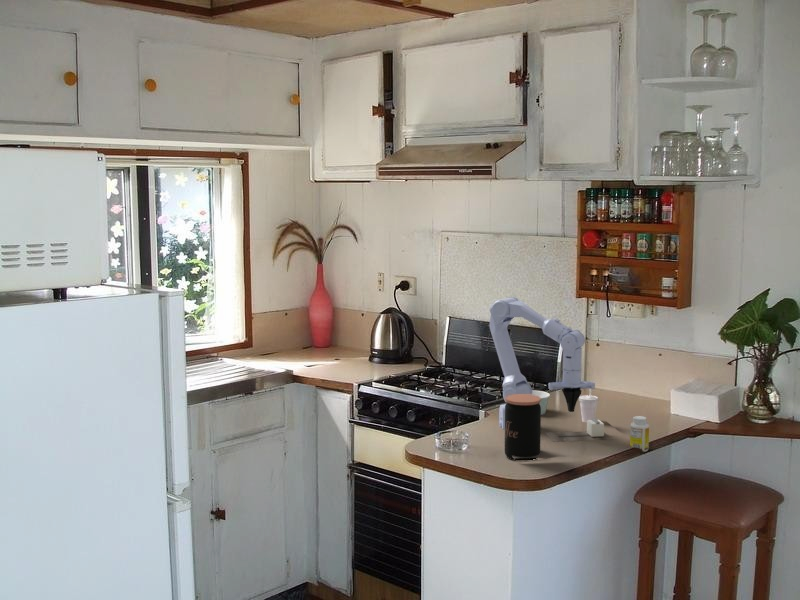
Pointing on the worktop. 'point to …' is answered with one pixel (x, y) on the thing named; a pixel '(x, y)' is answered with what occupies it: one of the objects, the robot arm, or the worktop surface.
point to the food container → (542, 399)
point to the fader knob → (595, 427)
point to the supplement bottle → (639, 433)
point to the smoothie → (588, 406)
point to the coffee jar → (522, 426)
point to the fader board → (575, 436)
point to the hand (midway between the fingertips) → (570, 411)
